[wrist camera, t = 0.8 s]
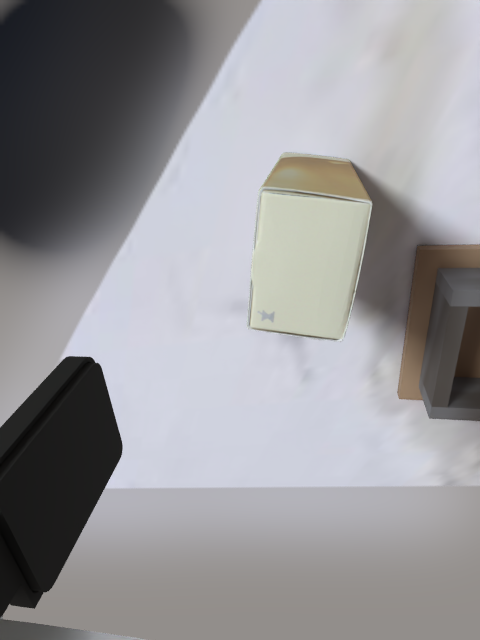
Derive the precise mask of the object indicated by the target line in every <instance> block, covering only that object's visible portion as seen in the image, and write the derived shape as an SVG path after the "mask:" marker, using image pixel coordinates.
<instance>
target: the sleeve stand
mask: <svg viewBox="0 0 480 640" xmlns="http://www.w3.org/2000/svg"><path fill="white" fill-rule="evenodd" d="M397 393H398V396H399V399H410V400H423V401H424V404H425V407H426V410H427V413H428V416H429V418H432V419H452V420H472V421H480V245H422V246H417V251H416V259H415V266H414V274H413V281H412V288H411V296H410V303H409V311H408V318H407V326H406V333H405V340H404V348H403V355H402V363H401V370H400V377H399V385H398V392H397Z"/></svg>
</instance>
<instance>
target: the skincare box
mask: <svg viewBox="0 0 480 640" xmlns="http://www.w3.org/2000/svg"><path fill="white" fill-rule="evenodd" d="M372 205H373V203H372V201H371V199H370V197H369V195H368V193H367V192H366V190H365V188H364V186H363V184H362V183H361V181H360V179H359V177H358V175H357V173H356V171H355V170H354V168H353V166H352V164H351V162H350V160H348V159H342V158H335V157H326V156H318V155H310V154H299V153H287V152H286V153H283V154H282V155H281V157H280V158H279V160H278V161H277V163H276V164H275V166H274V168H273V169H272V171H271V172H270V174H269V175H268V177H267V179H266V180H265V182H264V183H263V185H262V186H261V188H260V189H259V192H258V200H257V211H256V221H255V231H254V243H253V253H252V265H251V278H250V292H249V304H248V317H247V328H248V329H249V330H255V331H263V332H268V333H276V334H281V335H289V336H296V337H302V338H310V339H318V340H330V341H339V342H341V341H342V340H343V339H344V336H345V333H346V329H347V326H348V322H349V319H350V315H351V311H352V307H353V303H354V299H355V294H356V290H357V285H358V281H359V275H360V271H361V266H362V261H363V256H364V250H365V245H366V240H367V233H368V229H369V223H370V217H371V211H372Z"/></svg>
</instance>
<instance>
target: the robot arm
mask: <svg viewBox="0 0 480 640" xmlns="http://www.w3.org/2000/svg"><path fill="white" fill-rule="evenodd" d="M121 455H122V441H121V437H120V433H119V430H118V426H117V423H116V419H115V415H114V412H113V408H112V404H111V401H110V397H109V393H108V390H107V386H106V382H105V379H104V375H103V372H102V368H101V366H100V365H99V364H98V363H95V361H94V360H93V358H91V357H73V356H69V357H66V358H65V359H64V360H63V361H62V362H61V363H60V364H59V365H58V366H57V367H56V368H55V369H54V370H53V371H52V372H51V374H50V375H49V376H48V377H47V378H46V379H45V380H44V381H43V382H42V383H41V384H40V386H39V387H38V388H37V389H36V390H35V391H34V392H33V393H32V394H31V395H30V396H29V397H28V398H27V399H26V400H25V402H24V403H23V404H22V405H21V406H20V407H19V408H18V409H17V410H16V411H15V413H13V415H12V416H11V417H10V418H9V419H8V420H7V421H6V422H5V423H4V424H3V425H2V426H1V428H0V640H147V639H140V638H133V637H126V636H119V635H112V634H105V633H98V632H91V631H84V630H78V629H71V628H64V627H56V626H49V625H43V624H36V623H28V622H20V621H11V620H3V613H4V612H5V610H6V609H7V607H8V605H9V604H11V605H13V606H20V607H27V608H35V607H36V605H37V603H38V601H39V600H40V598H41V596H42V594H43V592H47V591H49V590H50V589H51V588H52V586H53V585H54V583H55V581H56V579H57V578H58V576H59V574H60V572H61V570H62V568H63V566H64V564H65V562H66V560H67V559H68V557H69V555H70V553H71V551H72V549H73V547H74V545H75V543H76V541H77V540H78V538H79V536H80V534H81V532H82V530H83V528H84V526H85V524H86V523H87V521H88V518H89V517H90V515H91V513H92V511H93V509H94V507H95V505H96V504H97V502H98V500H99V498H100V496H101V494H102V492H103V490H104V488H105V486H106V485H107V483H108V481H109V479H110V477H111V475H112V473H113V471H114V469H115V467H116V466H117V464H118V462H119V460H120V458H121Z"/></svg>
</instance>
